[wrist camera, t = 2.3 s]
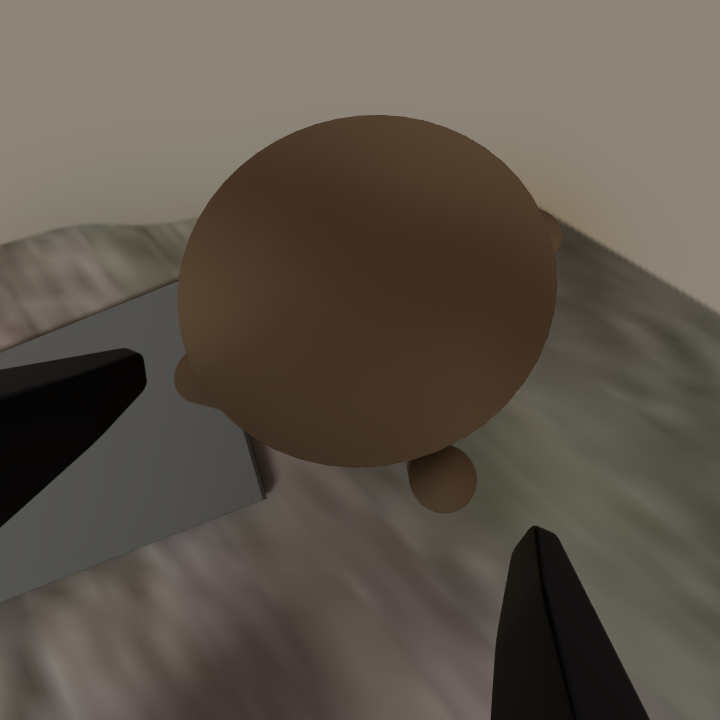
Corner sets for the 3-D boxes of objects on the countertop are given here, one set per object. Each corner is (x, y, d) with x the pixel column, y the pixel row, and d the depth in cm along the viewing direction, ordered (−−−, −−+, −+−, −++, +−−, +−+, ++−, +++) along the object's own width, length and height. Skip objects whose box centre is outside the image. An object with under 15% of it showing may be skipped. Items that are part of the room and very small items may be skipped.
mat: (266, 498, 18) (262, 499, 18) (-13, 607, 18) (-25, 611, 18) (202, 277, 21) (197, 273, 21) (-36, 372, 22) (-46, 370, 21)
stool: (428, 485, 18) (478, 541, 6) (300, 429, 19) (112, 375, 7) (477, 354, 19) (605, 165, 7) (353, 310, 20) (273, 82, 8)
